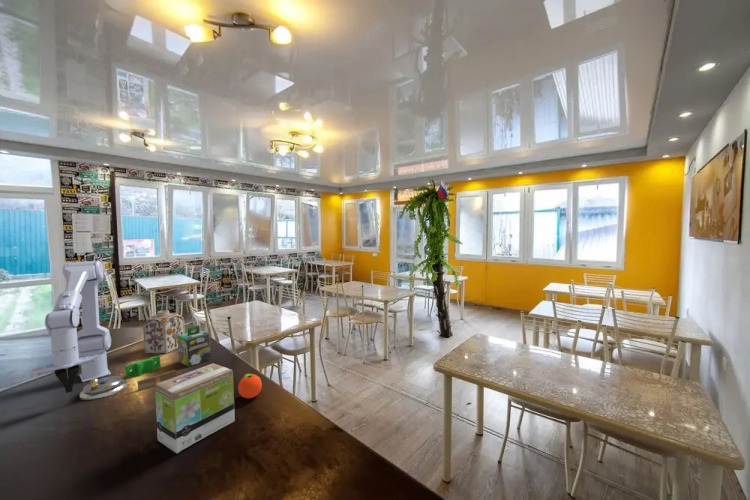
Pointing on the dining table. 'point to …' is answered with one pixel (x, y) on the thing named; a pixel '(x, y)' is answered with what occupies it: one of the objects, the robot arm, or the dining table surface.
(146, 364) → the pipe clamp
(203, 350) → the chalk box
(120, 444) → the dining table surface
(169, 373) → the bar
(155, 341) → the decorative jar
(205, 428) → the tea box
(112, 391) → the base plate
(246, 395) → the clementine
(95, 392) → the index disc
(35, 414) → the dining table surface
